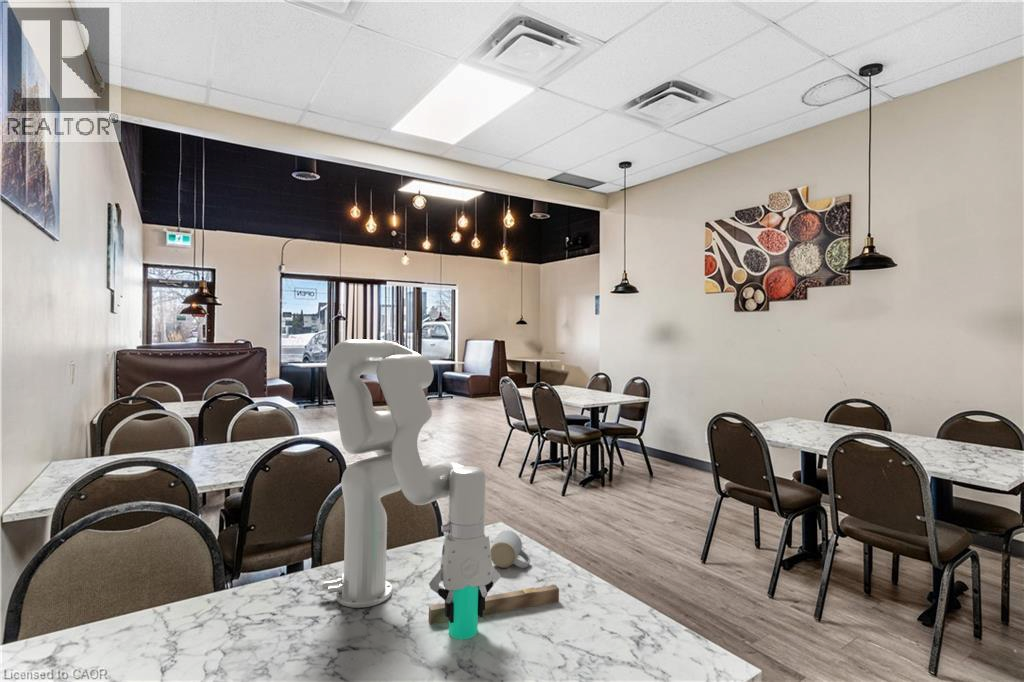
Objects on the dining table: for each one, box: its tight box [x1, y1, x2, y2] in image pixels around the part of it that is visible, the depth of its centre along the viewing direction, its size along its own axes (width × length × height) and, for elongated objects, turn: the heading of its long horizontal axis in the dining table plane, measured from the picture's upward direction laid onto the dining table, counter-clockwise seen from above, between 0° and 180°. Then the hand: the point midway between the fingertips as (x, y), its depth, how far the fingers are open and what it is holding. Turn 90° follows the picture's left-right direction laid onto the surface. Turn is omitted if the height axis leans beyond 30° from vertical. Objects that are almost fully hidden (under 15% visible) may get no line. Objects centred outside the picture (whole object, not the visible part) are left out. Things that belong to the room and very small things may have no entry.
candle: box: [448, 586, 479, 640], centre depth 103 cm, size 6×6×12 cm
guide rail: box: [428, 584, 560, 625], centre depth 111 cm, size 30×2×3 cm, turn 111°
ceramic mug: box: [490, 530, 531, 569], centre depth 136 cm, size 11×8×8 cm
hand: (464, 615), depth 103 cm, fingers closed on candle, 5 cm apart
